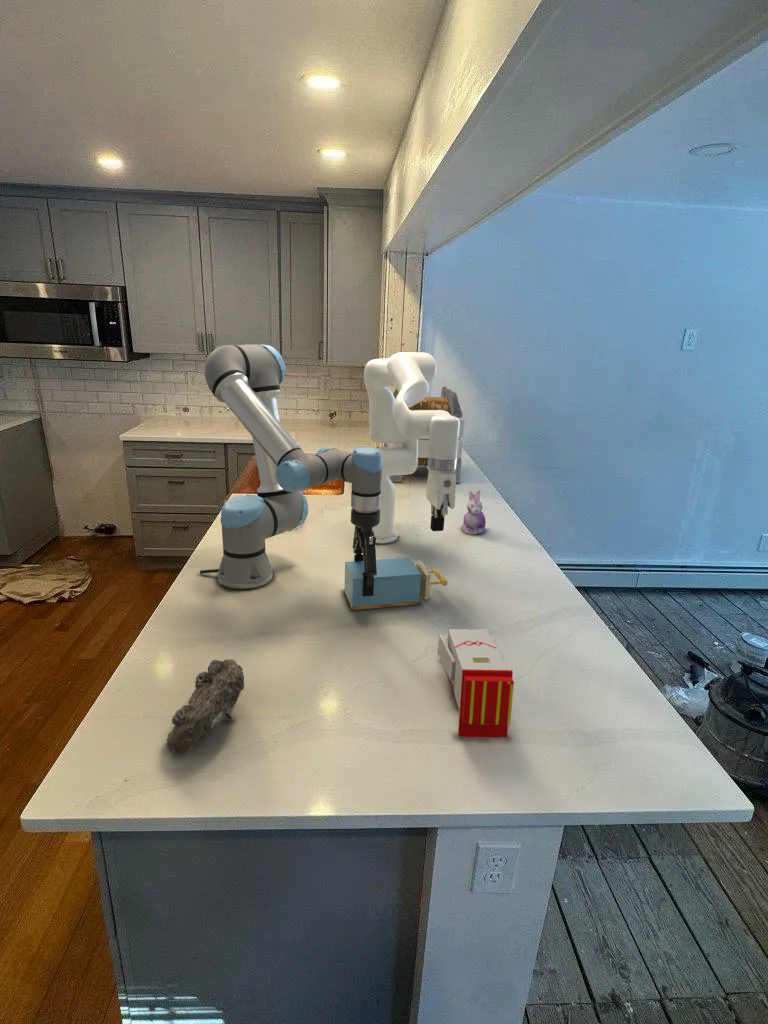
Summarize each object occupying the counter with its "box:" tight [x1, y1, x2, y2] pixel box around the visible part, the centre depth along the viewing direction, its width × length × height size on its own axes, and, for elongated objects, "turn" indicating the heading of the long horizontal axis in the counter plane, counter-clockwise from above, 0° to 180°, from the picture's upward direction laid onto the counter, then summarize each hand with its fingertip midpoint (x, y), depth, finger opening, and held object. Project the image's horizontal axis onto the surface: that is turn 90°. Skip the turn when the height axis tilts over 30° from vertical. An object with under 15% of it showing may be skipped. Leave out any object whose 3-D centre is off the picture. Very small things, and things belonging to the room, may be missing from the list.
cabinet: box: [343, 557, 421, 611], centre depth 154 cm, size 18×11×9 cm, turn 105°
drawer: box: [415, 560, 449, 600], centre depth 156 cm, size 23×9×7 cm, turn 105°
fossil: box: [166, 658, 245, 754], centre depth 106 cm, size 22×10×15 cm
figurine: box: [462, 489, 487, 535], centre depth 203 cm, size 9×10×15 cm
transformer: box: [383, 386, 465, 484], centre depth 268 cm, size 34×33×41 cm
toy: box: [437, 628, 515, 738], centre depth 117 cm, size 12×13×30 cm
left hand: (363, 585), depth 153 cm, fingers closed on cabinet, 11 cm apart
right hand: (436, 529), depth 152 cm, fingers closed
